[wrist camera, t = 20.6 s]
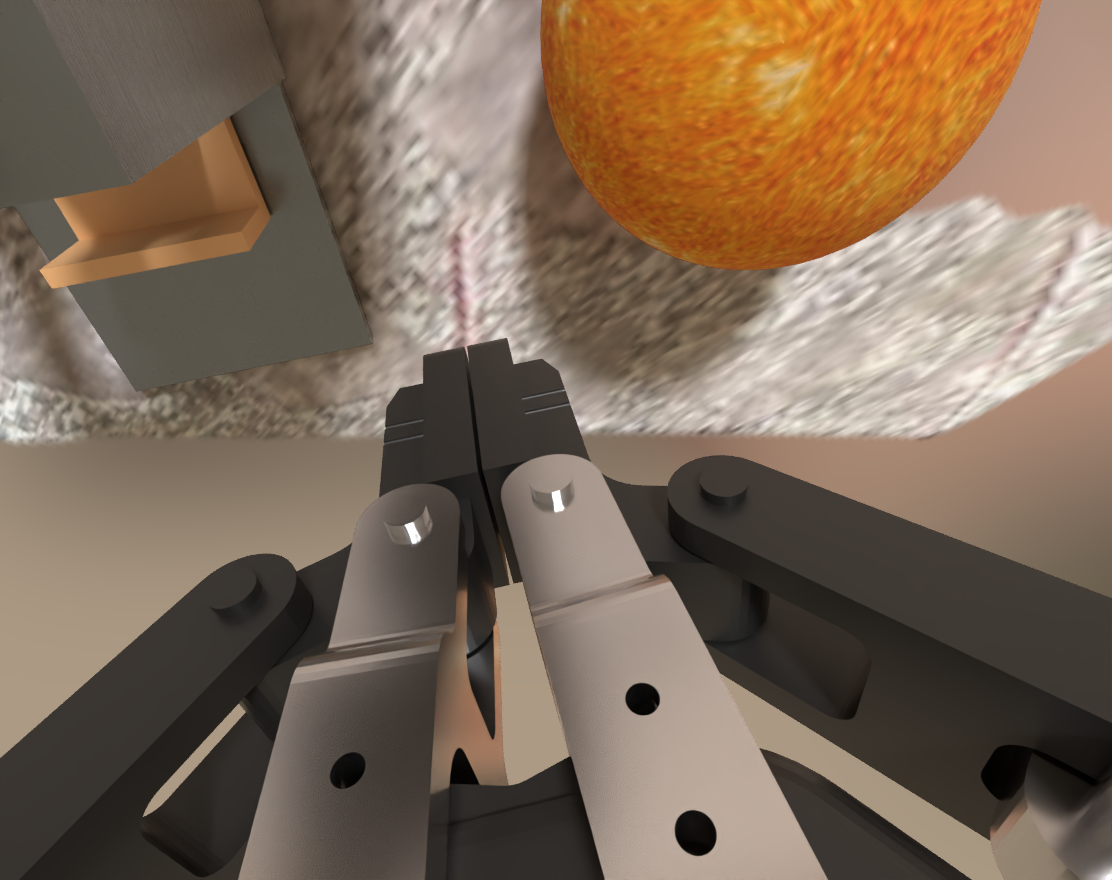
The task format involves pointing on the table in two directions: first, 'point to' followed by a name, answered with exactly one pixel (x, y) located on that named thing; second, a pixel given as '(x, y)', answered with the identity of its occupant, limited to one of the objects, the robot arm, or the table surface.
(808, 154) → the decorative sphere
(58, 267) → the press bed carriage
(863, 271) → the table surface
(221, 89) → the press frame
